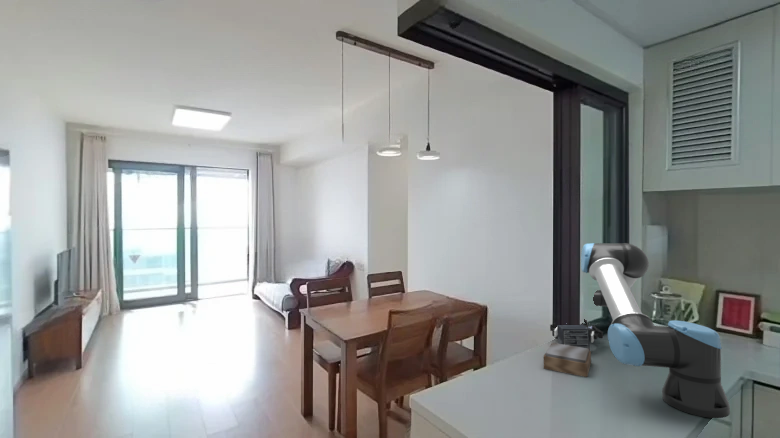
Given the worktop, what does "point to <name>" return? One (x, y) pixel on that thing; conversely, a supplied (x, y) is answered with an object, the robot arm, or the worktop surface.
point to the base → (568, 359)
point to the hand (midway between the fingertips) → (573, 336)
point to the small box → (574, 335)
